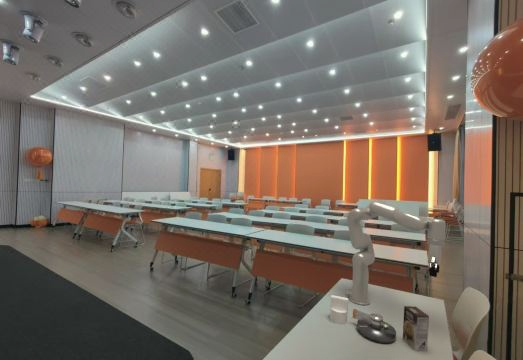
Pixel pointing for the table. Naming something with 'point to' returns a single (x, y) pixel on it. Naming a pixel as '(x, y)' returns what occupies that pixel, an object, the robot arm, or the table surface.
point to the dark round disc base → (377, 332)
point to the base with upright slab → (339, 309)
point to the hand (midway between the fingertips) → (434, 274)
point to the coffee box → (415, 328)
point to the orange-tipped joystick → (369, 318)
